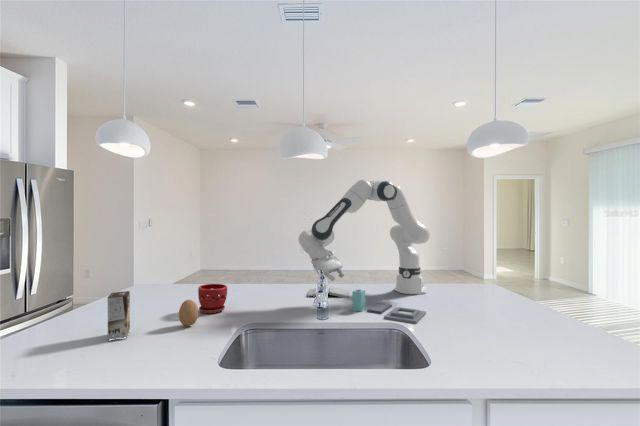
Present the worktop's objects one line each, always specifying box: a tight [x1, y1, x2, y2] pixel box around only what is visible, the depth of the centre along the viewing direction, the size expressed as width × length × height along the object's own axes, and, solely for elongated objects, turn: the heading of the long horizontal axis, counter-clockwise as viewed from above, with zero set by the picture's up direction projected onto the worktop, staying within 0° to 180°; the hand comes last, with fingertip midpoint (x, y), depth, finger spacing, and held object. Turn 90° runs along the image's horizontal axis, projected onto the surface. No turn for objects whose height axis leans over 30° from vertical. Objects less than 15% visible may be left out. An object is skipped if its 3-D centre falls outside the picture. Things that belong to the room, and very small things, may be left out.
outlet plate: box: [383, 306, 427, 325], centre depth 153 cm, size 16×14×2 cm
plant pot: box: [197, 283, 228, 314], centre depth 163 cm, size 13×13×12 cm
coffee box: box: [107, 290, 131, 340], centre depth 130 cm, size 9×6×16 cm
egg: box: [178, 299, 199, 327], centre depth 142 cm, size 8×8×11 cm
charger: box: [352, 289, 366, 313], centre depth 163 cm, size 4×4×9 cm
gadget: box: [307, 286, 350, 299], centre depth 195 cm, size 23×15×4 cm, turn 86°
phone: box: [366, 302, 393, 315], centre depth 165 cm, size 7×14×1 cm, turn 149°
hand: (338, 278), depth 169 cm, fingers open, 8 cm apart
